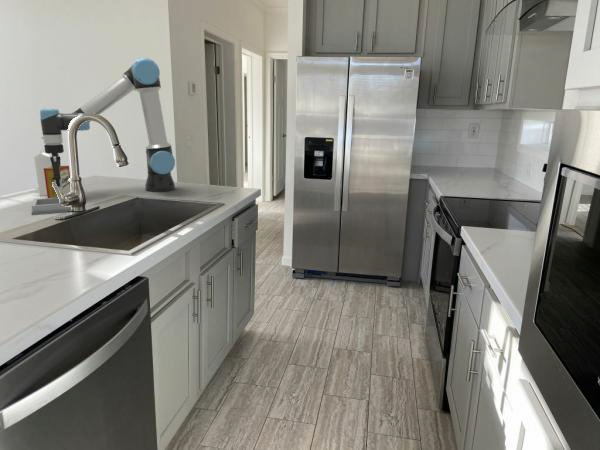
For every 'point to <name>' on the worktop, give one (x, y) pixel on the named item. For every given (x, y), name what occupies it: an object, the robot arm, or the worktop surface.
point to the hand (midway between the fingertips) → (59, 191)
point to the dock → (48, 206)
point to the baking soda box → (48, 179)
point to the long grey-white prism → (42, 171)
